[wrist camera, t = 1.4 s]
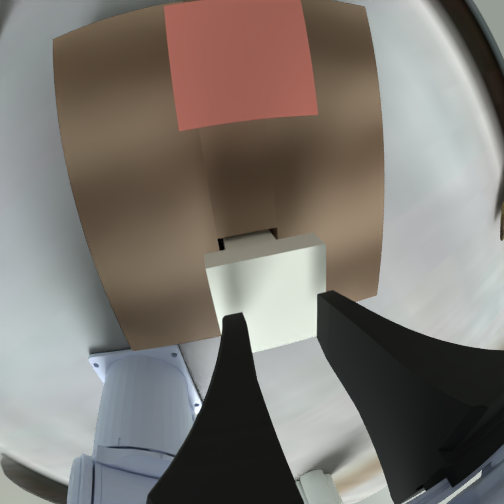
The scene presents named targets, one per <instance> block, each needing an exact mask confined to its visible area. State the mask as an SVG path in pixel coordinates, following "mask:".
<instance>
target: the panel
mask: <svg viewBox="0 0 504 504" xmlns="http://www.w3.org/2000/svg"><path fill="white" fill-rule="evenodd" d="M192 1H200V0H184V1H177V2H172V3H166V4H161V5H156V6H151V7H147V8H143V9H138V10H134V11H131V12H127V13H123V14H120V15H116V16H113V17H110V18H107V19H104V20H101V21H98V22H95V23H92V24H89V25H87V26H84V27H81V28H79V29H76V30H74V31H71V32H69V33H66V34H64V35H62V36H60V37H57V38H55V39H53V67H54V84H55V95H56V105H57V113H58V121H59V128H60V134H61V140H62V146H63V151H64V156H65V161H66V166H67V171H68V175H69V180H70V184H71V188H72V192H73V196H74V200H75V204H76V207H77V211H78V214H79V218H80V221H81V225H82V228H83V231H84V234H85V237H86V241H87V244H88V247H89V250H90V252H91V255H92V258H93V261H94V264H95V267H96V269H97V272H98V275H99V277H100V280H101V282H102V285H103V287H104V290H105V292H106V295H107V297H108V300H109V302H110V304H111V307H112V309H113V311H114V313H115V316H116V318H117V320H118V322H119V325H120V327H121V329H122V331H123V333H124V335H125V337H126V339H127V341H128V343H129V345H130V347H131V349H132V351H138V350H145V349H151V348H158V347H164V346H170V345H176V344H182V343H187V342H193V341H198V340H203V339H208V338H214V337H218V336H221V331H220V327H219V323H218V319H217V315H216V311H215V307H214V303H213V299H212V295H211V290H210V286H209V282H208V277H207V273H206V268H205V261H204V254H207V253H212V252H217V251H220V250H219V244H218V239H219V238H224V237H230V236H235V235H240V234H245V233H250V232H255V231H260V230H266V229H269V231H270V232H271V233H272V235H273V236H274V237H275V239H276V240H277V239H282V238H287V237H292V236H298V235H303V234H308V233H314V234H316V235H317V236H318V237H319V238H320V239H321V240H322V241H323V242H325V243H326V292H327V291H331V290H334V291H336V292H338V293H340V294H341V295H343V296H345V297H347V298H349V299H350V300H352V301H354V302H356V301H360V300H363V299H366V298H369V297H372V296H376V295H377V290H378V282H379V272H380V262H381V251H382V237H383V219H384V142H383V125H382V111H381V100H380V91H379V82H378V75H377V67H376V61H375V54H374V49H373V43H372V37H371V32H370V27H369V23H368V18H367V14H366V9H365V7H364V6H359V5H354V4H349V3H344V2H338V1H331V0H301V5H302V10H303V15H304V20H305V26H306V31H307V37H308V43H309V49H310V55H311V62H312V69H313V76H314V83H315V91H316V100H317V108H318V115H309V116H295V117H281V118H270V119H260V120H251V121H242V122H235V123H228V124H221V125H214V126H208V127H202V128H197V129H191V130H186V131H179V127H178V120H177V114H176V107H175V100H174V93H173V85H172V78H171V70H170V61H169V53H168V44H167V34H166V24H165V13H164V6H167V5H173V4H179V3H185V2H192Z"/></svg>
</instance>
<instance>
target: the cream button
mask: <svg viewBox="0 0 504 504" xmlns="http://www.w3.org/2000/svg"><path fill="white" fill-rule="evenodd" d="M223 243H224V248H225V250H222V251H217V252H212V253H207V254H204V261H205V268H206V273H207V277H208V282H209V286H210V290H211V295H212V299H213V303H214V307H215V311H216V315H217V319H218V323H219V327H220V331H221V335H222V318H223V317H224V316H225V315H230V314H235V313H239V312H243V315H244V317H245V320H246V323H247V327H248V333H249V338H250V344H251V349H252V353H253V352H258V351H262V350H266V349H270V348H274V347H278V346H282V345H286V344H290V343H293V342H297V341H301V340H304V339H308V338H311V337H315V336H317V294H319V293H323V292H326V243H325V242H323V241H322V240H321V239H320V238H319V237H318V236H317V235H316V234H314V233H308V234H303V235H298V236H292V237H287V238H282V239H277V240H276V239H275V237H274V236H273V235H272V233H271V232H270V231H269V229H266V230H260V231H255V232H250V233H245V234H240V235H235V236H230V237H224V238H223Z"/></svg>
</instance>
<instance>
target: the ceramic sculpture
mask: <svg viewBox="0 0 504 504" xmlns="http://www.w3.org/2000/svg"><path fill="white" fill-rule="evenodd" d="M500 239H501V241H502V240H503V239H504V202H503V204H502V209H501V225H500Z"/></svg>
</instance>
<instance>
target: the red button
mask: <svg viewBox="0 0 504 504" xmlns="http://www.w3.org/2000/svg"><path fill="white" fill-rule="evenodd" d="M164 13H165V24H166V34H167V44H168V53H169V61H170V70H171V78H172V85H173V93H174V100H175V107H176V114H177V120H178V127H179V131H186V130H191V129H197V128H202V127H208V126H214V125H221V124H228V123H235V122H242V121H251V120H260V119H270V118H281V117H295V116H309V115H318V108H317V100H316V91H315V83H314V76H313V69H312V62H311V55H310V49H309V43H308V37H307V31H306V26H305V20H304V15H303V10H302V5H301V0H200V1H192V2H185V3H179V4H173V5H167V6H164Z"/></svg>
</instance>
